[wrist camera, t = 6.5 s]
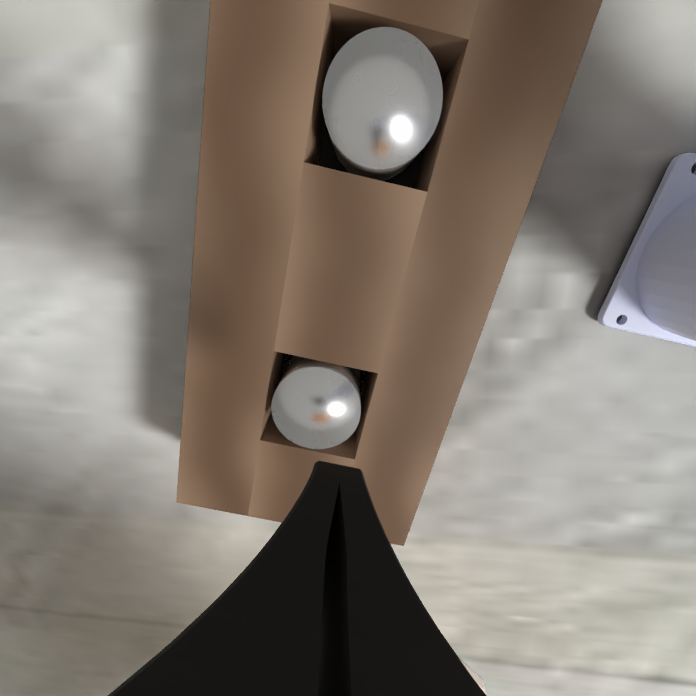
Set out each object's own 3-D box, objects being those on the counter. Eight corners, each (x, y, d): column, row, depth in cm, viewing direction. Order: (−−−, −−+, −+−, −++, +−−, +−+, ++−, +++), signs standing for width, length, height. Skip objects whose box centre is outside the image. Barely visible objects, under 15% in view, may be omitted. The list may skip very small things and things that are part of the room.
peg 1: (367, 349, 19) (370, 380, 15) (351, 412, 20) (349, 456, 16) (294, 333, 19) (278, 360, 15) (283, 398, 20) (265, 439, 16)
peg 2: (433, 89, 15) (459, 43, 11) (408, 190, 16) (422, 180, 12) (341, 66, 15) (335, 12, 11) (323, 170, 16) (312, 153, 12)
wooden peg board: (569, -32, 14) (649, -130, 10) (395, 491, 22) (403, 545, 18) (265, -116, 13) (227, -253, 9) (208, 453, 22) (176, 502, 18)
